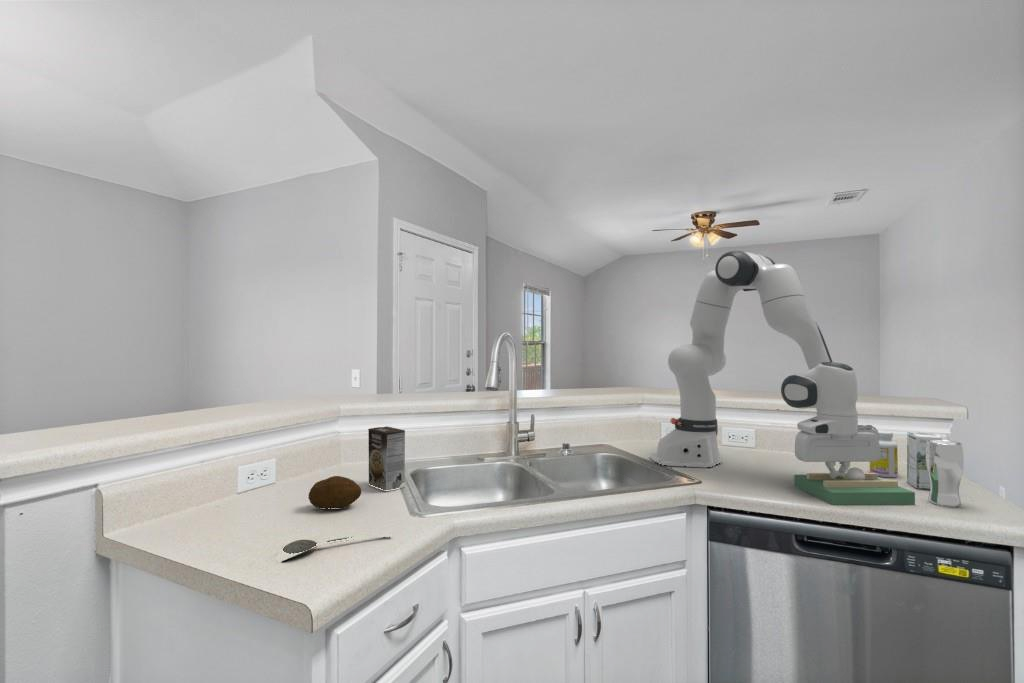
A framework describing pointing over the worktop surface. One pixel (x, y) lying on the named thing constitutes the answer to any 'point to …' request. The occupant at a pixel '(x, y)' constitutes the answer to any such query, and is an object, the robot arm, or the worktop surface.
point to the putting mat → (854, 490)
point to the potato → (334, 493)
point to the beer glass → (944, 471)
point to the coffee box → (386, 457)
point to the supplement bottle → (886, 456)
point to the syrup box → (918, 459)
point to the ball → (855, 474)
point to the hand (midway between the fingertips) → (837, 478)
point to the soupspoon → (302, 545)
